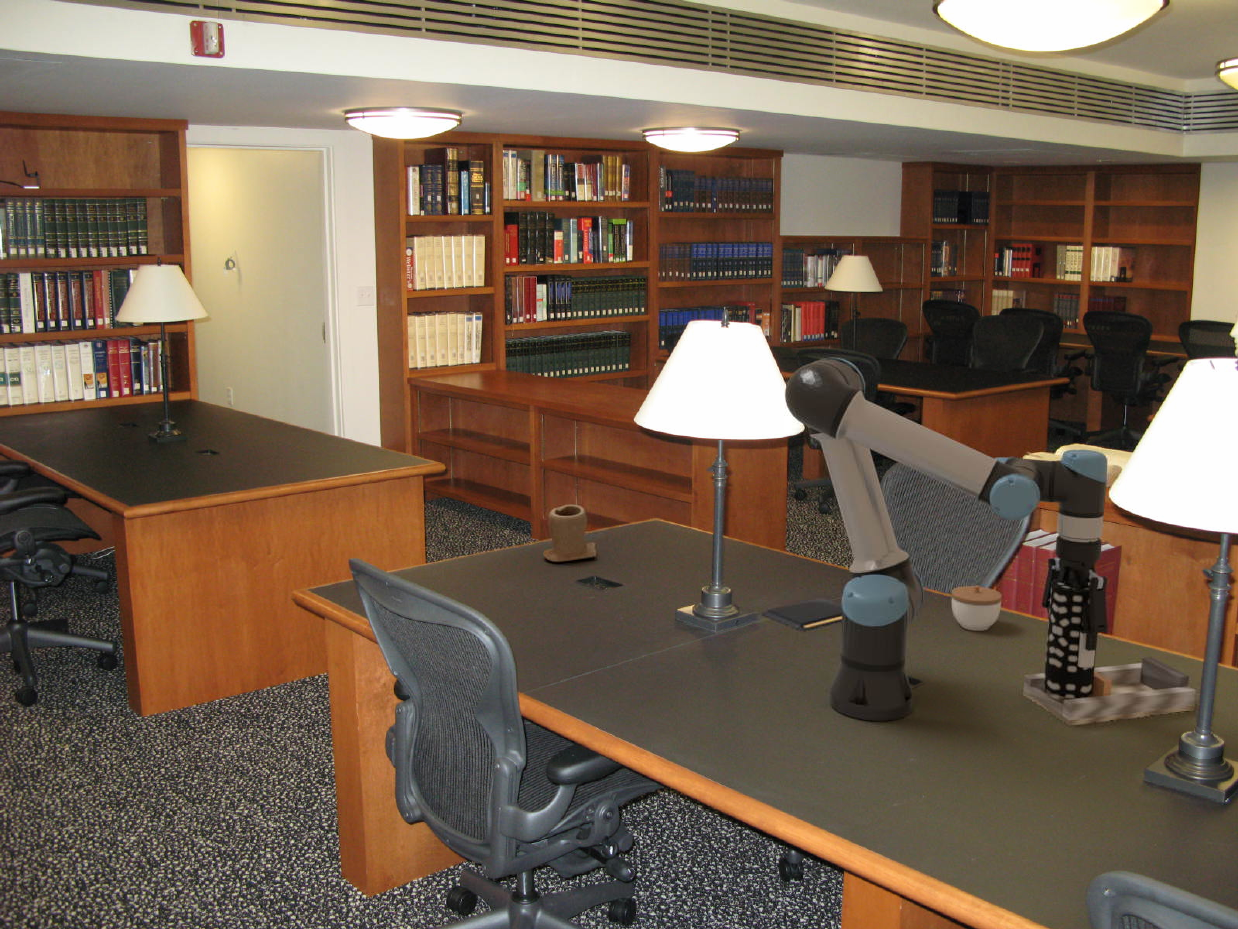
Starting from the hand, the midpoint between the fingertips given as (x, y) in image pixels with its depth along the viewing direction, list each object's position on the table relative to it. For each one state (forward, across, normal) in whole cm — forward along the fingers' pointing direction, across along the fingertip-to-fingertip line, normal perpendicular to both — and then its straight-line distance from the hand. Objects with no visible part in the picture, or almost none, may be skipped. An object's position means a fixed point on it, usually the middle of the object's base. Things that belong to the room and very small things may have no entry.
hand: (1070, 657), depth 202 cm
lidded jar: (+10, +44, -8) cm, 46 cm away
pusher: (+9, 0, -5) cm, 10 cm away
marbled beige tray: (+10, 0, -9) cm, 13 cm away
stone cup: (+10, +119, +70) cm, 138 cm away
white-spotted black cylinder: (+7, 0, 0) cm, 7 cm away
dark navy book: (+11, +60, +25) cm, 66 cm away
